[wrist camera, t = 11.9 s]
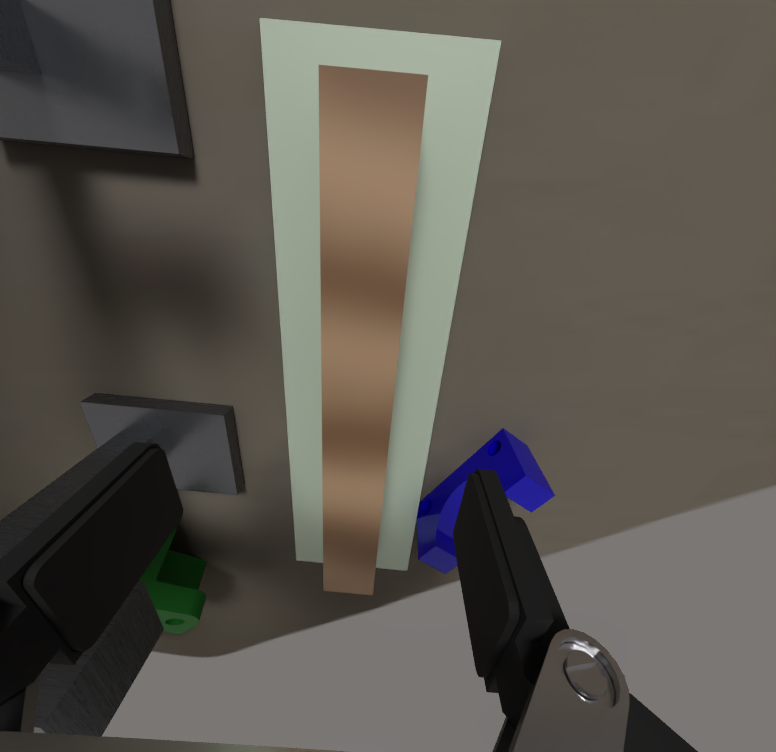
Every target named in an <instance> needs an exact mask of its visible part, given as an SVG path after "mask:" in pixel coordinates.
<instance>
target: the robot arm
mask: <svg viewBox="0 0 776 752" xmlns="http://www.w3.org/2000/svg"><path fill="white" fill-rule="evenodd" d="M182 515H183V507H182V504H181V501H180V498H179V495H178V491H177V488H176V485H175V482H174V479H173V476H172V472H171V469H170V466H169V463H168V460H167V457H166V453H165V451H164V450H163V449H161V448H160V446H159V445H158V444H155V443H142V442H135V443H132V444H131V445H129V446H128V447H127V448H126V449H125V450H124V451H123V452H121V453H120V454H119V455H118V456H117V457H116V458H115V459H114V460H112V461H111V462H110V463H109V464H108V465H107V466H106V467H104V468H103V469H102V470H101V471H100V472H99V473H98V474H97V475H95V476H94V477H93V478H92V479H91V480H90V481H89V482H87V483H86V484H85V485H84V486H83V487H82V488H81V489H80V490H78V491H77V492H76V493H75V494H74V495H73V496H72V497H70V498H69V499H68V500H67V501H66V502H65V503H64V504H63V505H61V506H60V507H59V508H58V509H57V510H56V511H55V512H53V513H52V514H51V515H50V516H49V517H48V518H47V519H46V520H44V521H43V522H42V523H41V524H40V525H39V526H38V527H36V528H35V529H34V530H33V531H32V532H31V533H30V534H29V535H27V536H26V537H25V538H24V539H23V540H22V541H21V542H19V543H18V544H17V545H16V546H15V547H14V548H13V549H12V550H10V551H9V552H8V553H7V554H6V555H5V556H4V557H2V558H1V559H0V752H343V751H328V750H327V751H326V750H313V749H298V748H282V747H268V746H252V745H235V744H219V743H203V742H186V741H170V740H153V739H137V738H136V739H135V738H119V737H101V736H83V735H65V734H47V733H34V724H35V714H36V704H37V695H38V685H39V675H40V673H41V672H42V671H43V669H44V668H45V667H46V666H47V664H48V663H49V662H50V663H51V664H64V665H75V664H76V662H77V661H78V659H79V658H80V656H81V655H82V654H83V652H84V651H86V650H88V649H90V648H91V647H92V646H93V645H94V644H95V643H96V641H97V640H98V639H99V637H100V636H101V634H102V633H103V631H104V630H105V628H106V627H107V626H108V624H109V623H110V621H111V620H112V618H113V617H114V615H115V614H116V613H117V611H118V610H119V608H120V607H121V605H122V604H123V603H124V601H125V600H126V598H127V597H128V595H129V594H130V592H131V591H132V590H133V588H134V587H135V585H136V584H137V582H138V581H139V579H140V578H141V577H142V575H143V574H144V572H145V571H146V569H147V568H148V567H149V565H150V564H151V562H152V561H153V559H154V558H155V556H156V555H157V554H158V552H159V551H160V549H161V548H162V546H163V545H164V543H165V542H166V541H167V539H168V538H169V536H170V535H171V533H172V532H173V531H174V529H175V528H176V526H177V525H178V523H179V522H180V520H181V518H182ZM453 541H454V547H455V553H456V559H457V564H458V570H459V576H460V582H461V587H462V593H463V599H464V604H465V610H466V616H467V622H468V628H469V633H470V639H471V645H472V650H473V656H474V662H475V667H476V671H477V674H478V676H479V677H484V680H485V686H486V691H487V692H493V693H499V697H500V702H501V707H502V711H503V713H504V714H505V715H506V718H505V720H504V723H503V726H502V728H501V731H500V734H499V736H498V739H497V742H496V744H495V746H494V749H493V752H697V751H696V750H695V749H694V748H693V747H692V746H690V745H689V744H688V743H687V742H686V741H685V740H684V739H682V738H681V737H680V736H679V735H678V734H677V733H676V732H674V731H673V730H672V729H671V728H670V727H668V726H667V725H666V724H665V723H664V722H663V721H661V720H660V719H659V718H658V717H657V716H656V715H655V714H654V713H652V712H651V711H650V710H649V709H648V708H647V707H645V706H644V705H643V704H642V703H641V702H640V701H638V700H637V699H636V698H635V697H634V696H633V695H632V694H630V693H629V689H628V686H627V683H626V680H625V676H624V674H623V673H622V671H621V669H620V667H619V665H618V664H617V662H616V661H615V659H614V658H613V657H612V655H611V654H610V653H609V652H608V651H607V649H606V648H605V647H603V646H602V645H601V644H600V643H599V642H598V641H597V640H596V639H594V638H592V637H591V636H589V635H587V634H586V633H584V632H581V631H578V630H574V629H569V626H568V624H567V622H566V619H565V617H564V614H563V612H562V610H561V607H560V605H559V602H558V600H557V597H556V595H555V593H554V590H553V588H552V586H551V583H550V581H549V578H548V576H547V573H546V571H545V569H544V566H543V564H542V561H541V559H540V556H539V554H538V552H537V549H536V547H535V544H534V542H533V540H532V537H531V535H530V532H529V530H528V528H527V525H526V523H525V522H524V520H523V519H522V518H520V517H514V516H513V513H512V510H511V508H510V505H509V503H508V500H507V497H506V495H505V492H504V490H503V487H502V484H501V482H500V479H499V477H498V474H497V472H496V471H495V470H484V469H476V470H475V472H474V473H470V474H469V475H468V478H467V482H466V486H465V489H464V493H463V497H462V500H461V504H460V508H459V511H458V515H457V519H456V522H455V526H454V530H453Z"/></svg>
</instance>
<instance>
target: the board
mask: <svg viewBox="0 0 776 752" xmlns="http://www.w3.org/2000/svg"><path fill="white" fill-rule="evenodd" d="M260 30H261V45H262V60H263V74H264V89H265V104H266V119H267V134H268V148H269V163H270V178H271V193H272V208H273V222H274V237H275V252H276V267H277V282H278V296H279V311H280V326H281V341H282V356H283V370H284V385H285V400H286V415H287V430H288V444H289V459H290V474H291V489H292V504H293V518H294V533H295V548H296V560H298V561H308V562H319V563H323V490H322V383H321V276H320V169H319V65H328V66H339V67H349V68H360V69H371V70H381V71H392V72H403V73H413V74H424V75H428V83H427V92H426V101H425V111H424V120H423V130H422V139H421V148H420V158H419V167H418V176H417V186H416V195H415V205H414V214H413V223H412V233H411V242H410V251H409V261H408V270H407V280H406V289H405V298H404V308H403V317H402V326H401V336H400V345H399V355H398V364H397V373H396V383H395V392H394V401H393V411H392V420H391V430H390V439H389V448H388V458H387V467H386V476H385V486H384V495H383V505H382V514H381V523H380V533H379V542H378V551H377V561H376V568H383V569H394V570H404V571H407V569H408V564H409V558H410V552H411V547H412V541H413V536H414V530H415V524H416V519H417V513H418V507H419V502H420V496H421V490H422V485H423V479H424V474H425V468H426V462H427V457H428V451H429V445H430V440H431V434H432V428H433V423H434V417H435V412H436V406H437V400H438V395H439V389H440V383H441V378H442V372H443V366H444V361H445V355H446V350H447V344H448V338H449V333H450V327H451V321H452V316H453V310H454V305H455V299H456V293H457V288H458V282H459V276H460V271H461V265H462V259H463V254H464V248H465V243H466V237H467V231H468V226H469V220H470V214H471V209H472V203H473V197H474V192H475V186H476V181H477V175H478V169H479V164H480V158H481V152H482V147H483V141H484V135H485V130H486V124H487V119H488V113H489V107H490V102H491V96H492V90H493V85H494V79H495V74H496V68H497V62H498V57H499V51H500V45H501V41H499V40H489V39H478V38H467V37H457V36H446V35H435V34H425V33H414V32H404V31H393V30H382V29H372V28H361V27H350V26H340V25H329V24H319V23H308V22H297V21H287V20H276V19H266V18H260Z"/></svg>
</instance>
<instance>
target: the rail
mask: <svg viewBox="0 0 776 752" xmlns="http://www.w3.org/2000/svg"><path fill="white" fill-rule="evenodd" d="M427 83H428V75H424V74H413V73H403V72H392V71H381V70H371V69H360V68H349V67H339V66H328V65H319V169H320V276H321V383H322V490H323V591H331V592H342V593H353V594H363V595H373V589H374V580H375V570H376V561H377V551H378V542H379V533H380V523H381V514H382V505H383V495H384V486H385V476H386V467H387V458H388V448H389V439H390V430H391V420H392V411H393V401H394V392H395V383H396V373H397V364H398V355H399V345H400V336H401V326H402V317H403V308H404V298H405V289H406V280H407V270H408V261H409V251H410V242H411V233H412V223H413V214H414V205H415V195H416V186H417V176H418V167H419V158H420V148H421V139H422V130H423V120H424V111H425V101H426V92H427Z"/></svg>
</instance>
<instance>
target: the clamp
mask: <svg viewBox="0 0 776 752" xmlns="http://www.w3.org/2000/svg"><path fill="white" fill-rule="evenodd" d="M176 529H177V526H176V528H175V529H174V531H173V532H172V533H171V535H170V536H169V538H168V539H167V541H166V542H165V543H164V545H163V546H162V548H161V549H160V551H159V552H158V554H157V555H156V556H155V558H154V559H153V561H152V562H151V564H150V565H149V567H148V568H147V569H146V571H145V572H144V574H143V575H142V577H141V578H140V579H139V581H138V582H144V583H145V585H146V587H147V590H148V592H149V595H150V597H151V599H152V602H153V604H154V607H155V609H156V611H157V614H158V616H159V619H160V621H161V623H162V626H163V628H164V630H163V632H168V633H174V634H178V635H181V634H183V633H184V632H186V631H187V630H189V629H191V628H192V627H194V626H196V625H197V624H198V623H199V620H200V617H201V613H202V610H203V606H204V603H205V599H206V595H205V594H204V593H203V592H201V591H199V590H198V588H199V585H200V582H201V578H202V575H203V572H204V569H205V566H206V563H207V562H206V561H205V560H203V559H200V558H196V557H193V556H189V555H185V554H182V553H178V552H174V551H170V550H169V547H170V545H171V542H172V540H173V538H174V535H175V533H176Z"/></svg>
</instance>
